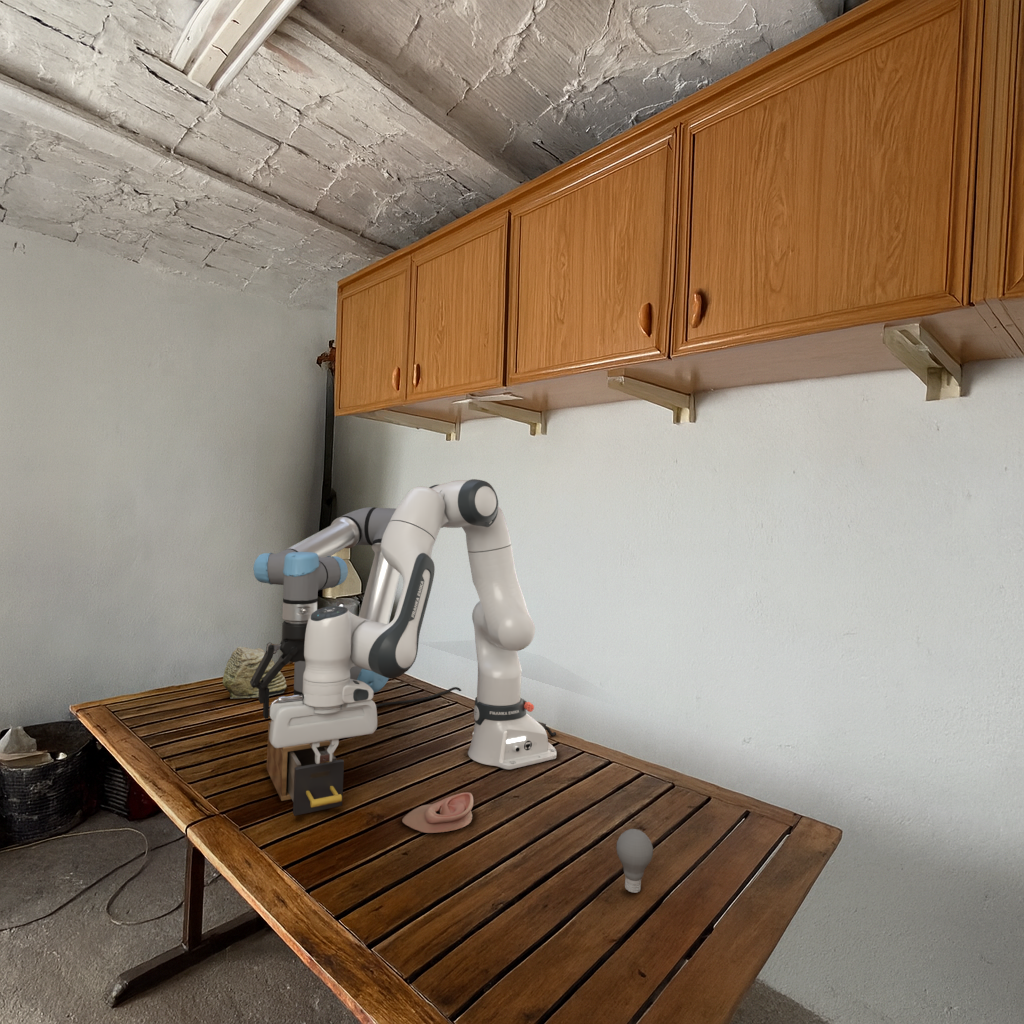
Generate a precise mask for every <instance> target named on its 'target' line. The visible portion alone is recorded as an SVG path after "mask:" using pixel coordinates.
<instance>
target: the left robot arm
mask: <svg viewBox="0 0 1024 1024" xmlns="http://www.w3.org/2000/svg"><path fill="white" fill-rule="evenodd" d="M395 510H396V508H394V507H393V508H391V507H374V506H370V507H369V506H368V507H363V508H359V509H356V510H352V511H349V512H347V513H345V514H343V515H341V516H338V517H337V518H335V519H334V520H333V521H332V522H331V524H330V525H329V526H327V527H325V528H323V529H322V530H319V531H318V532H315V533H314V534H312V535H310V536H307V538H304V539H303V540H301V541H298V542H297V543H295V544H293V545H291V546H289V547H287V548H285V549H283V550H281V551H279V552H277V553H273V552H264V553H261V554H259V555H258V556H257V557H256V558H255V560H254V563H253V575H254V578H255V580H257V581H258V582H260V583H263V584H269V585H276V586H277V585H280V586H283V598H282V620H284V621H282V623H281V626H282V627H281V641H280V643H272V642H267V643H266V646H265V647H266V648H265V655H264V656H263V658H262V660H261V662H260V664H259V666H258V668H257V670H256V671H255V673H254V675H253V677H252V679H251V681H250V684H251V686H252V687H253V688H258V689H259V697H257V698H258V702H259V704H262V717H263V718H264V719H265V720H266V719H267V720H268V719H270V717H269V708H270V696H269V688H268V685H269V684H270V682H271V681H272V680H273V679H274V678H275V676H276V675H277V674H278V673H279V672H281V671H282V669H283V668H284V667H285V666H286V665H288V663H289V662H291V663H294V672H293V695H299V694H302V693H303V674H304V671H305V667H306V661H305V658H304V643H305V633H306V627H307V623H308V620H309V617H310V615H311V614H312V613H313V612H315V611H316V610H318V598H319V597H318V595H319V593H318V592H319V591H321V590H327V589H333V588H336V587H337V586H340V585H342V584H343V583H344V582H345V581H346V579H347V577H348V575H349V568H348V565H347V563H346V561H345V560H344V559H343V558H342V557H340V556H337V555H335V554H337V553H338V552H341V551H342V550H343V549H351V548H354V547H356V546H371V550H372V551H373V552H374V556H373V561H372V565H371V568H370V572H369V576H368V580H367V583H366V587H365V592H364V594H363V599H362V602H361V606H360V610H359V614H358V617H361V618H364V619H367V620H372V621H375V622H379V623H384V624H389V623H390V621H391V616H392V612H393V607H394V603H395V599H396V595H397V590H398V587H399V582H400V579H401V576H402V575H401V574H400V573H399V572H398V571H396V570H395V569H394V568H393V567H391V566H390V565H389V564H388V563H387V561H386V560H385V558H384V556H383V554H382V551H381V541H382V537H383V534H384V532H385V530H386V528H387V526H388V524H389V521H390V519H391V517H392V515H393V514H394V512H395ZM279 650H280V652H281V653H282V654H281V655H280V656H279V657H278V660H277V661H276V662H274V663H275V664H274V666H273V667H272V668H271V669H270V670H269V672H268V673H267V674H266V675H265V676H264V677H263V679H262V680H261V678H262V676H263V674H264V672H265V670H266V668H267V667H268V665H269V663H270V661H271V659H272V660H273V656H274V655H275V654H276V653H277V652H278V651H279ZM350 679H354V680H359V681H363V682H364V683H366V684H367V685H369V686H370V687H371V688H372V690H373V691H374V694H376V693H378V692H380V691H381V690H382V689H383V688H384V687H385V685H386V684H387V683H388V681H389V679H390V678H387V677H384V676H382V675H380V674H377V673H375V672H373V671H370V670H366V669H362V668H359V667H357V666H354V667H351V669H350ZM260 680H261V681H260ZM455 690H457V692H462V691H463V690H462V689H461V688H460V687H458V686H453V687H451V688H449V689H446V690H443V691H440V692H438V693H434V694H432V695H428V696H424V697H418V698H412V699H407V700H405V699H404V700H397V701H388V702H387V701H386V702H381V703H378V704H375V705H376V709H378V708H380V707H385V706H390V705H401V704H409V703H415V702H422V701H427V700H431V699H433V698H437V697H439V696H441V695H445V694H448V693H450V692H453V691H455Z"/></svg>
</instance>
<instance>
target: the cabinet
mask: <svg viewBox="0 0 1024 1024" xmlns="http://www.w3.org/2000/svg"><path fill="white" fill-rule="evenodd" d="M270 725H271V721H268V722H267V749H266V750H267V753H266V771H267V773H268V775H269V777H270V779H271V782H272V784H273V786H274V788H275V790H276V792H277V794H278V796H279V799H280V801H281V802H283V801H288V800H292V799H291V797H290V795H289V793H288V791H287V789H286V784H287V757H288V752H290V751H296V750H303V749H309V748H311V746H310V743H309V744H303V745H296V746H290V747H283V748H275V747H273V746H272V744H271V743H270V741H269V731H270ZM329 745H330V742H329V741H322V742H320V746H319V747H321V746H327V747H329ZM333 755H334V756H335V752H334V753H333Z"/></svg>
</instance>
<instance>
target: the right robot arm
mask: <svg viewBox="0 0 1024 1024" xmlns="http://www.w3.org/2000/svg"><path fill="white" fill-rule="evenodd" d="M395 509H396V510H395V512H394V514H393V515H392V517H391V519H390V521H389V524H388V526H387V528H386V530H385V532H384V534H383V537H382V541H381V551H382V554H383V556H384V558H385V560H386V561H387V563H388V564H389V565H390V566H391V567H393V568H394V569H395V570H396V571H398V572H399V573H400V574H401V575H400V576H401V578H402V580H403V582H402V583H403V585H402V589H401V593H400V596H399V600H398V603H397V606H396V609H395V613H394V617H393V619H392V620H390V621H389V624H384V623H379V622H375V621H372V620H367V619H364V618H361V617H359V615H356V614H355V613H353V612H351V611H350V610H349V608H347V607H345V606H340V605H333V606H324V607H320V608H317V610H316V611H315V612H313V613H312V614H311V615H310V617H309V620H308V623H307V627H306V633H305V643H304V658H305V661H306V667H305V671H304V674H303V693H302V694H299V695H294V694H293V695H283V696H278V698H276V699H274V700H273V701H271V704H269V719H270V722H271V725H270V731H269V741H270V743H271V744H272V746H273V747H275V748H283V747H290V746H296V745H303V744H309V743H310V746H311V748H312V749H313V751H314V752H315V762H316V764H321V763H327V762H332V753H334V754H335V752H336V749H337V748H338V746H339V743H340V740H341V739H347V738H354V737H360V736H367V735H372V734H375V732H376V730H377V728H378V710H377V709H378V708H376V705H377V704H376V703H375V701H374V700H373V698H374V695H375V693H374V691H373V690H372V688H371V687H370V686H369V685H367V684H366V683H364V682H363V681H359V680H354V679H350V669H351V667H354V666H357V667H359V668H362V669H366V670H370V671H373V672H375V673H377V674H380V675H382V676H384V677H387V678H389V679H396V678H398V677H402V675H404V674H405V673H407V672H408V671H409V670H410V669H411V668H412V667H413V665H414V664H415V662H416V659H417V657H418V653H419V643H420V642H419V641H420V633H421V630H422V625H423V622H424V618H425V614H426V611H427V606H428V602H429V600H430V599H429V598H430V594H431V591H432V588H433V583H434V579H435V572H436V571H435V569H436V568H435V562H434V560H433V559H432V553H433V548H434V546H435V544H436V541H437V539H438V535H439V532H440V530H441V529H442V528H449V529H450V528H451V529H459V528H462V529H463V532H464V533H465V541H466V549H467V555H468V562H469V566H470V573H471V579H472V583H473V585H474V587H475V590H476V592H477V593H476V594H477V596H478V598H479V601H478V602H477V603H476V604H475V605H474V607H473V610H472V612H471V614H472V615H471V619H472V623H473V628H474V642H475V651H476V661H477V683H476V697H475V699H474V706H473V720H474V725H473V732H472V737H471V741H470V744H469V748H468V751H467V756H468V757H469V758H470V759H471V760H472V761H474V762H476V763H479V764H482V765H486V766H492V767H498V768H500V769H503V770H514V769H517V768H523V767H526V766H531V765H535V764H539V763H543V762H544V763H545V762H547V761H552V760H555V759H557V757H558V753H557V749H556V748H555V746H553V745H552V744H551V743H550V742H549V738H548V737H549V736H551V737H555V736H556V735H557V732H556V731H553V732H552V730H551V728H550V727H549V726H547V723H544V722H540V721H537V720H536V719H535V718H534V717H533V716H531V715H530V714H529V713H532V712H534V710H535V705H534V704H533V703H532V702H530V701H527V700H526V699H524V698H522V697H521V695H522V675H523V669H522V665H521V662H520V657H519V651H522V650H524V649H526V648H528V647H529V646H530V645H531V643H532V642H533V640H534V638H535V634H536V626H535V622H534V620H533V617H532V616H531V614H530V612H529V610H528V605H527V601H526V599H525V596H524V593H523V591H522V587H521V585H520V581H519V578H518V575H517V570H516V564H515V559H514V558H515V557H514V550H513V545H512V541H511V535H510V530H509V526H508V524H507V520H506V518H505V515H504V512H503V510H502V508H501V507H500V506H499V499H498V495H497V492H496V490H495V489H494V487H493V485H492V484H491V483H489V482H488V481H486V480H482V479H477V478H472V479H459V480H451V481H448V482H444V483H441V484H433V485H431V486H429V487H428V486H423V485H422V486H421V485H420V486H419V485H418V486H414V487H412V488H411V489H409V490H408V491H407V493H406V494H405V495H404V496H403V498H402V500H400V502H399V504H398V505H397V507H396V508H395ZM527 712H529V713H527ZM547 733H548V734H547ZM548 735H549V736H548ZM322 741H329V742H330V745H329V747H328V749H327V751H322V752H319V751H318V750H317V748H316V747H319V746H320V742H322Z"/></svg>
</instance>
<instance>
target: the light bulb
mask: <svg viewBox="0 0 1024 1024" xmlns="http://www.w3.org/2000/svg"><path fill="white" fill-rule="evenodd" d="M615 849H616V854H617V857H618V859H619V861H620V863H621V865H622V867H623V873H624V874H623V875H624V876H625V878H624V888H625V890H627V891H628V892H630V893H634V894H635V893H639V892H640V891H641V889H642V887H641V886H642V879H643V877H644V875H645V871H646V868H647V867H648V866H649V864H650V863H651V861H652V859H653V855H654V847H653V843H652V841H651V838H649V836H648V835H647V834H646V833H645V832H643V831H642V830H641V829H636V828H629V829H627V830H625V831H623V832H622V833H621V834H620V835H619V837H618V839H617V841H616V847H615Z"/></svg>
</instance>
